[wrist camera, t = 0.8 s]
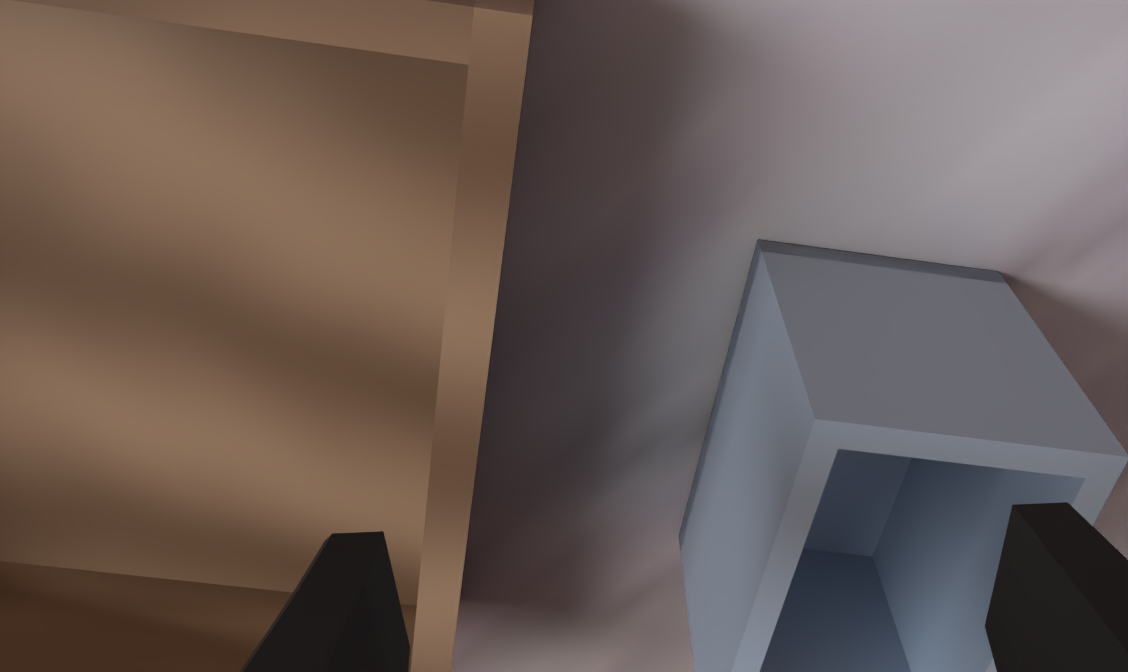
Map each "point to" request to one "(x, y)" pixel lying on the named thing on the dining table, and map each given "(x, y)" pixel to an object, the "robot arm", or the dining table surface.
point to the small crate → (875, 465)
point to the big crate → (242, 311)
